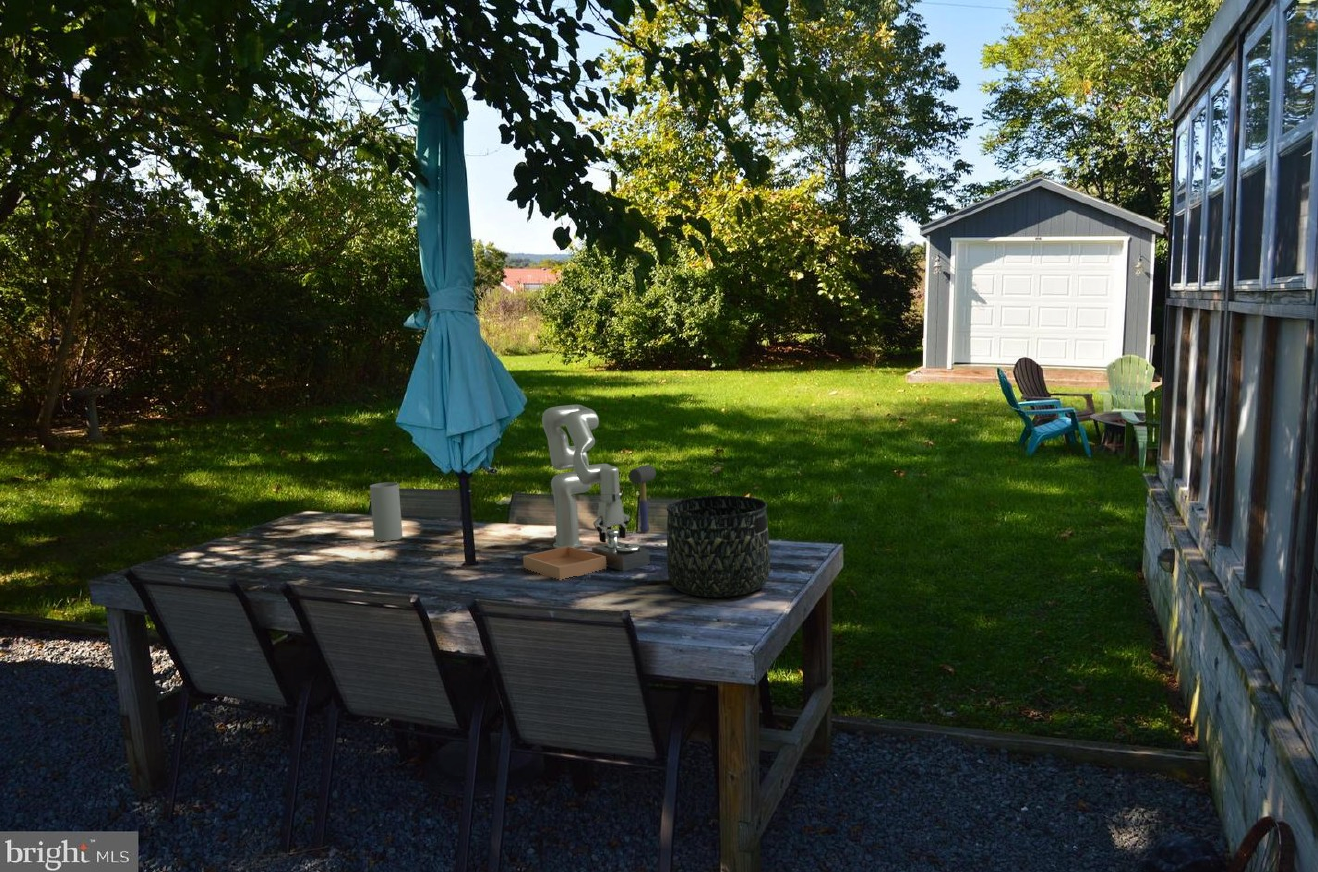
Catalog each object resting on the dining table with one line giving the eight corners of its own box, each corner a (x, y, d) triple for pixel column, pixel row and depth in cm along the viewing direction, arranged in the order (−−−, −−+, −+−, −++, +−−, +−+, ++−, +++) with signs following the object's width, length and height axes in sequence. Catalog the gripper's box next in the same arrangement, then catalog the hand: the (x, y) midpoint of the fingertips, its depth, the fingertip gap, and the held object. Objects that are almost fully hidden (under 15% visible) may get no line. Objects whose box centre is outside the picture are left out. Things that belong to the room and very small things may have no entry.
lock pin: (603, 561, 409) (602, 530, 408) (614, 558, 413) (613, 528, 411) (612, 563, 405) (610, 532, 403) (622, 561, 408) (621, 530, 407)
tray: (523, 568, 403) (523, 555, 403) (569, 557, 417) (568, 545, 416) (560, 580, 384) (559, 567, 383) (606, 569, 397) (605, 556, 396)
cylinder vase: (368, 541, 460) (364, 487, 457) (383, 535, 472) (379, 482, 469) (393, 542, 456) (388, 487, 453) (407, 536, 468) (403, 482, 465)
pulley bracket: (592, 562, 409) (591, 541, 408) (618, 556, 417) (617, 535, 416) (623, 571, 393) (622, 549, 392) (649, 564, 401) (648, 543, 400)
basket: (708, 568, 392) (706, 491, 388) (790, 582, 369) (788, 500, 365) (647, 591, 364) (643, 509, 360) (731, 608, 341) (728, 520, 337)
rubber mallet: (643, 536, 450) (641, 468, 446) (630, 534, 454) (627, 467, 450) (659, 530, 460) (656, 464, 456) (645, 528, 464) (643, 463, 460)
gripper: (622, 493, 414) (624, 534, 416) (587, 499, 403) (589, 542, 405) (633, 495, 408) (635, 537, 410) (598, 502, 397) (600, 545, 399)
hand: (612, 539), depth 408 cm, fingers open, 9 cm apart
